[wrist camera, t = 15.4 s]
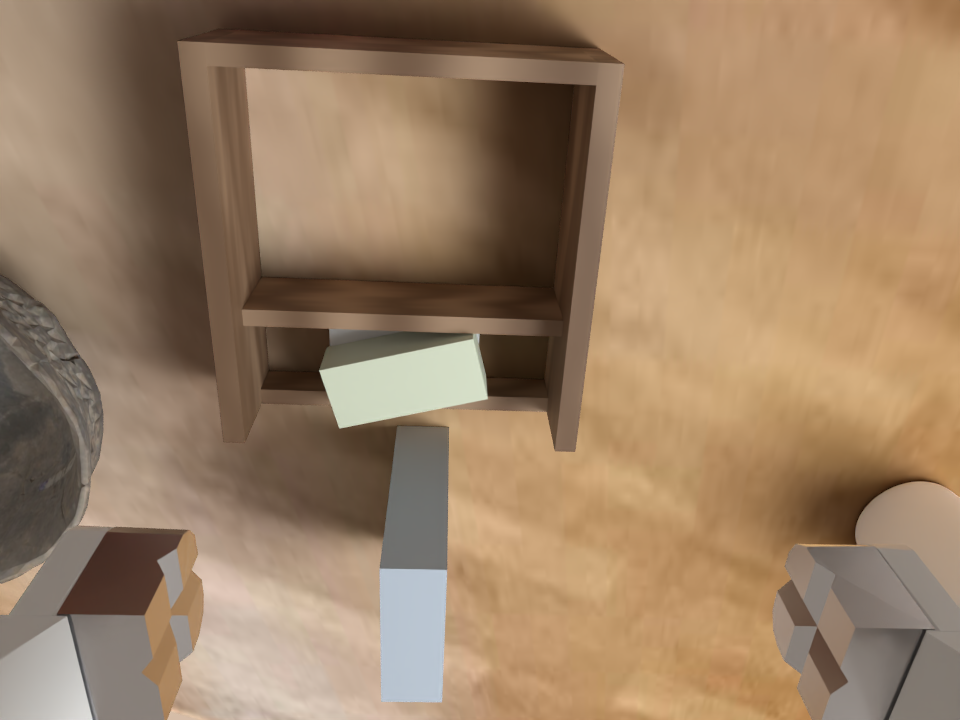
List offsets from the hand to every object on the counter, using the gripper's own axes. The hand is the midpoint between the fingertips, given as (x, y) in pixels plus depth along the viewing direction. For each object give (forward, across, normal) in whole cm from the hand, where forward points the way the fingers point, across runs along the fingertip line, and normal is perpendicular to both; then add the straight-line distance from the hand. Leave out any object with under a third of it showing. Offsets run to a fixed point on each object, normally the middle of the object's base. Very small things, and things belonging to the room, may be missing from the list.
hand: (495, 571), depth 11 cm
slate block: (+37, +2, +26) cm, 45 cm away
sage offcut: (+34, +3, +14) cm, 38 cm away
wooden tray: (+37, +3, +7) cm, 38 cm away
